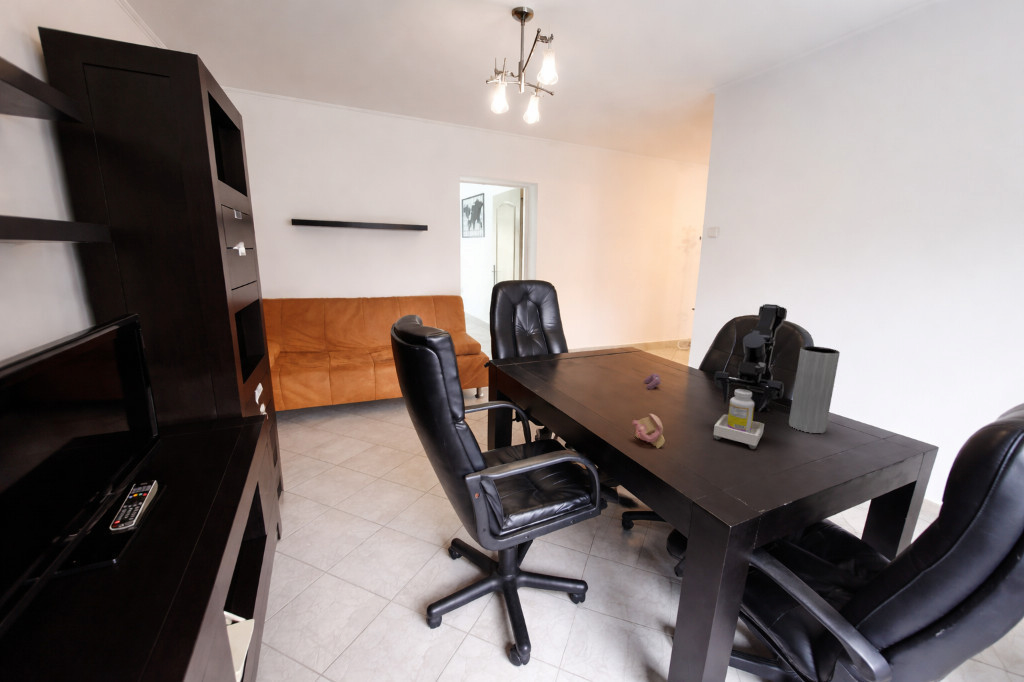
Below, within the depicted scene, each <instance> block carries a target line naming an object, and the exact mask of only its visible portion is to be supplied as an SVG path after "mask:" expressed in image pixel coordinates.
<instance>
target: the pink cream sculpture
mask: <svg viewBox="0 0 1024 682" xmlns="http://www.w3.org/2000/svg"><path fill="white" fill-rule="evenodd" d="M648 415H649V416H647V417H642V418H640V419H638V420H636V419H633V420H632V421H631V423H632V425H633V426H635V430H636V432H635V437H637V438H638V439H640V440H642V441H646V443H651V444H652V445H653V446H654V447H655V446H656V447H655V448H657V449H659V448H661V447H662V446H663V445H664V444H665V442H666V439H665V438H664V436H663V432H664V427H663V423H662V421H661V419H660V418H659V417H658V416H657V415H656V414H653V413H648ZM637 438H636V439H637Z"/></svg>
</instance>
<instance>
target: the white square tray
mask: <svg viewBox="0 0 1024 682" xmlns="http://www.w3.org/2000/svg"><path fill="white" fill-rule="evenodd" d="M727 423H728V414H724V413H723V415H721V417H720V418H719V420H717V422H716V423H715V424H714V428H713V438H714V439H715V440H721V439H722V438H724V439H728V440H731V441H735V442H740V443H743V444H746V445H748V448H750V450H755V449H756V448H757V445H758V443H759V442H760V439H761V438H762V437H763V433H764V427H765V423H763V422H760V421H754V420H753V421H752V429H751V432H750V433H747V432H743V431H739V430H735V429H731V428H728V427H727Z"/></svg>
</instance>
